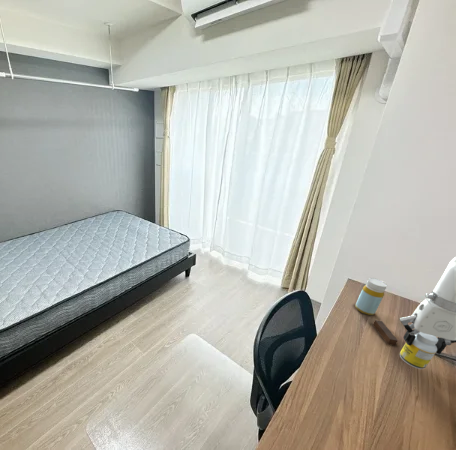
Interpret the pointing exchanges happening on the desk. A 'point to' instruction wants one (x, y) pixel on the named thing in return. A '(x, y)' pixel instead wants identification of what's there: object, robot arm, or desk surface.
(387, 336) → the walnut bar
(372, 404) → the desk surface
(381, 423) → the desk surface
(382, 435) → the desk surface
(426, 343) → the pill bottle
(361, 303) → the bottle
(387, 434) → the desk surface
